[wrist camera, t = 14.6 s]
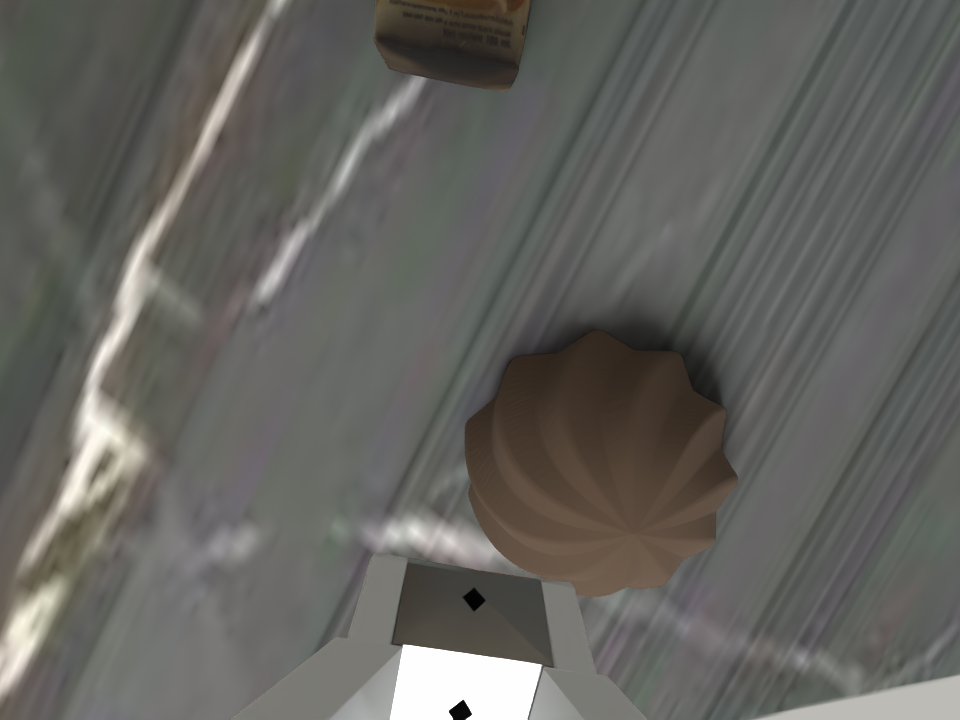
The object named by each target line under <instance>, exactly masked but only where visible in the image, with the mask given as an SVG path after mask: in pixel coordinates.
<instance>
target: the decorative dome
mask: <svg viewBox="0 0 960 720" xmlns="http://www.w3.org/2000/svg"><path fill="white" fill-rule="evenodd" d="M726 416H727V410H726V409H725V408H724V407H722V406H720V405H718V404H716V403H714V402H712V401H710V400H708V399H706V398H705V397H703V396H701V395H700V394H698V393H696V392H695V391H694V390H693V389H692V386H691V383H690V380H689V377H688V374H687V371H686V368H685V365H684V362H683V359H682V357H681V355H680V354H679V353H677V352H675V351H644V350H633V349H632V348H630V347H628V346H627V345H625V344H623V343H622V342H620V341H618V340H617V339H615V338H613V337H612V336H610V335H608V334H607V333H605V332H603V331H601V330H593V331H591V332H589V333H588V334H586V335H584V336H583V337H581V338H580V339H578V340H577V341H575V342H574V343H572V344H571V345H569V346H568V347H566V348H565V349H563V350H561V351H560V352H557V353H550V354H539V355H528V356H518V357H516V358H514V359H513V360H512V361H511V362H510V364H509V366H508V368H507V370H506V372H505V375H504V377H503V380H502V383H501V386H500V389H499V392H498V395H497V397H496V398H495V399H494V400H493V401H491V402H490V403H489V404H488V405H486V406H485V407H484V408H483V409H481V410H480V411H479V412H478V413H477V414H475V415H474V416H473V417H472V418H470V419H469V420H468V421H467V423H466V426H465V456H466V464H467V470H468V474H469V477H470V480H471V484H470V488H469V493H468V495H469V499H470V502H471V505H472V508H473V511H474V513H475V516H476V518H477V520H478V522H479V524H480V526H481V528H482V530H483V531H484V533H485V535H486V536H487V538H488V539H489V540H490V542H491V543H492V544H493V546H494V547H495V548H496V549H497V550H498V551H499V552H500V553H501V554H502V555H503V556H504V557H505V558H507V559H508V560H509V561H511V562H512V563H513V564H515V565H516V566H518V567H520V568H522V569H523V570H526V571H528V572H530V573H532V574H535V575H539V576H541V577H542V578H543V579H549V580H556V581H564V582H570V583H571V584H572V585H573V586H574V587H575V591H576V594H577V595H581V596H588V597H600V596H606V595H610V594H613V593H615V592H617V591H619V590H621V589H624V588H626V587H630V588H638V589H647V588H655V587H659V586H662V585H664V584H665V583H667V582H668V581H669V580H670V578H671V577H672V575H673V574H674V572H675V571H676V569H677V568H678V567H679V565H680V564H681V562H682V561H683V560H684V559H686V558H688V557H690V556H692V555H694V554H697V553H699V552H701V551H703V550H706V549H708V548H710V547H711V546H712V545H713V544H714V542H715V540H716V512H717V510H718V509H719V507H720V506H721V505H722V503H723V502H724V500H725V499H726V498H727V496H728V495H729V494H730V493H731V491H732V490H733V489H734V488H735V486H736V485H737V483H738V476H737V474H736V473H735V471H734V470H733V468H732V467H731V465H730V464H729V462H728V460H727V459H726V457H725V455H724V454H723V452H722V449H721V444H722V437H723V430H724V425H725V420H726Z"/></svg>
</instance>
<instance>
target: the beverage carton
mask: <svg viewBox="0 0 960 720" xmlns="http://www.w3.org/2000/svg"><path fill="white" fill-rule="evenodd" d="M531 4H532V0H375V14H374V23H375V25H374V37H373V40H374V43H375V44H376V47H377V49H378V51H379V52H380V53H381V56H382V57H383V59H384V60H385V63H386V64H387V66H388V68H389V69H391V70H395V71H399V72H403V73H407V74H412V75H417V76H421V77H426V78H431V79H435V80H440V81H445V82H450V83H455V84H461V85H466V86H471V87H477V88H483V89H490V90H496V91H508V90H509V89H510V88H511V86H512V84H513V83H514V81H515V78H516V77H517V74H518V70H519V63H520V59H521V56H522V50H523V46H524V42H525V37H526V32H527V26H528V21H529V16H530V10H531Z"/></svg>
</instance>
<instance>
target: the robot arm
mask: <svg viewBox="0 0 960 720" xmlns="http://www.w3.org/2000/svg"><path fill="white" fill-rule="evenodd" d="M407 560H408V564H407ZM406 567H407V569H406ZM405 573H406V574H405ZM230 720H647V718H646V717H645V716H644V715H643V714H642V713H641V712H640V711H639V710H638V709H637V708H636V707H635V705H634V704H633V703H632V702H631V701H630V700H629V699H628V698H627V697H626V696H625V695H624V694H623V692H622V691H621V690H620V689H619V688H618V687H617V686H616V685H615V684H614V683H613V682H612V681H611V680H610V678H609V677H608V676H603V675H597V673H596V670H595V666H594V662H593V658H592V654H591V650H590V646H589V642H588V638H587V634H586V630H585V627H584V623H583V619H582V615H581V611H580V607H579V603H578V599H577V595H576V591H575V587H574V586H573V585H572V584H571V583H570V582H564V581H556V580H549V579H541V578H538V579H533V578H526V577H519V576H513V575H506V574H499V573H492V572H486V571H479V570H474V569H469V568H463V567H458V566H452V565H446V564H441V563H435V562H430V561H424V560H418V559H413V558H409V559H407V558H405V557H399V556H393V555H387V554H381V553H374V554H373V556H372V558H371V560H370V563H369V567H368V570H367V573H366V577H365V580H364V583H363V587H362V590H361V593H360V597H359V600H358V603H357V607H356V610H355V613H354V617H353V620H352V623H351V627H350V630H349V633H348V637H347V638H339V637H335V638H334V639H333V640H332V641H330V642H329V643H328V644H326V645H325V646H324V647H323V648H321V649H320V650H319V651H317V652H316V653H315V654H314V655H312V656H311V657H310V658H308V659H307V660H306V661H305V662H303V663H302V664H301V665H300V666H298V667H297V668H296V669H294V670H293V671H292V672H291V673H289V674H288V675H287V676H285V677H284V678H283V679H282V680H280V681H279V682H278V683H276V684H275V685H274V686H273V687H271V688H270V689H269V690H267V691H266V692H265V693H264V694H262V695H261V696H260V697H258V698H257V699H256V700H255V701H253V702H252V703H251V704H250V705H248V706H247V707H246V708H244V709H243V710H242V711H241V712H239V713H238V714H237V715H235V716H234V717H233V718H232V719H230Z"/></svg>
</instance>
